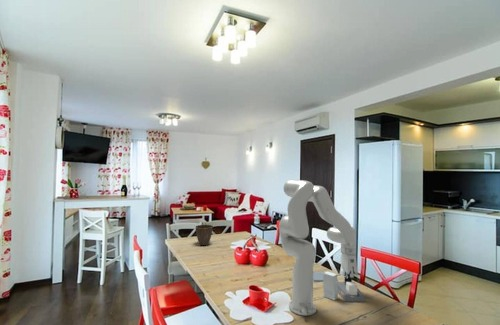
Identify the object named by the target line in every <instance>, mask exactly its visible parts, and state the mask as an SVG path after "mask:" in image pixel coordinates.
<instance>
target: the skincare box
mask: <svg viewBox="0 0 500 325" xmlns="http://www.w3.org/2000/svg"><path fill="white" fill-rule="evenodd" d="M337 280H338V274H337V273H335V272H331V271H327V270H326V271H325V273H323V282H322V283H323V284H322V287H323V297H324V298H327V299H329V300H333V301H336V300H337V299H338V296H339V295H338V294H339V293H338V288H337Z"/></svg>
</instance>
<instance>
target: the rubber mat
mask: <svg viewBox="0 0 500 325" xmlns="http://www.w3.org/2000/svg"><path fill="white" fill-rule="evenodd" d="M325 272H326V271H325ZM325 272H324V271H320V272H319V271H313V282H316V283H317V282H322V283H323V273H325Z"/></svg>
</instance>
